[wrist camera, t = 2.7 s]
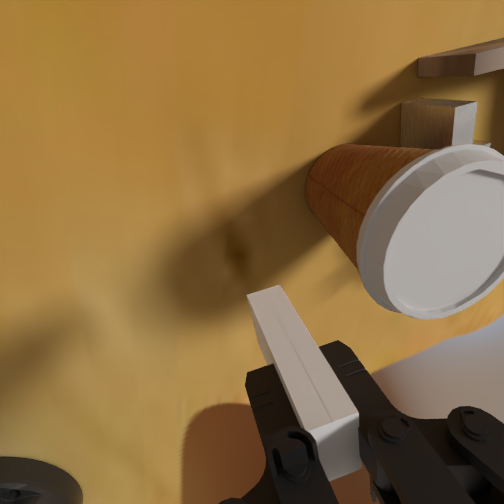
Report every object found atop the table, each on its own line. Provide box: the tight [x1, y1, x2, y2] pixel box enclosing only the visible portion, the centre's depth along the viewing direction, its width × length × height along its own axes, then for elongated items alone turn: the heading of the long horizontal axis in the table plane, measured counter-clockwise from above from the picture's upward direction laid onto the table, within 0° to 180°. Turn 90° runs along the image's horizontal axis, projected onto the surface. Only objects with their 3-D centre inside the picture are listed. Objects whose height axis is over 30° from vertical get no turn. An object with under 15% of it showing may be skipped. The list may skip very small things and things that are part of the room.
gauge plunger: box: [401, 98, 491, 150], centre depth 25 cm, size 6×11×9 cm, turn 12°
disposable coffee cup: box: [306, 144, 504, 319], centre depth 22 cm, size 10×10×12 cm
